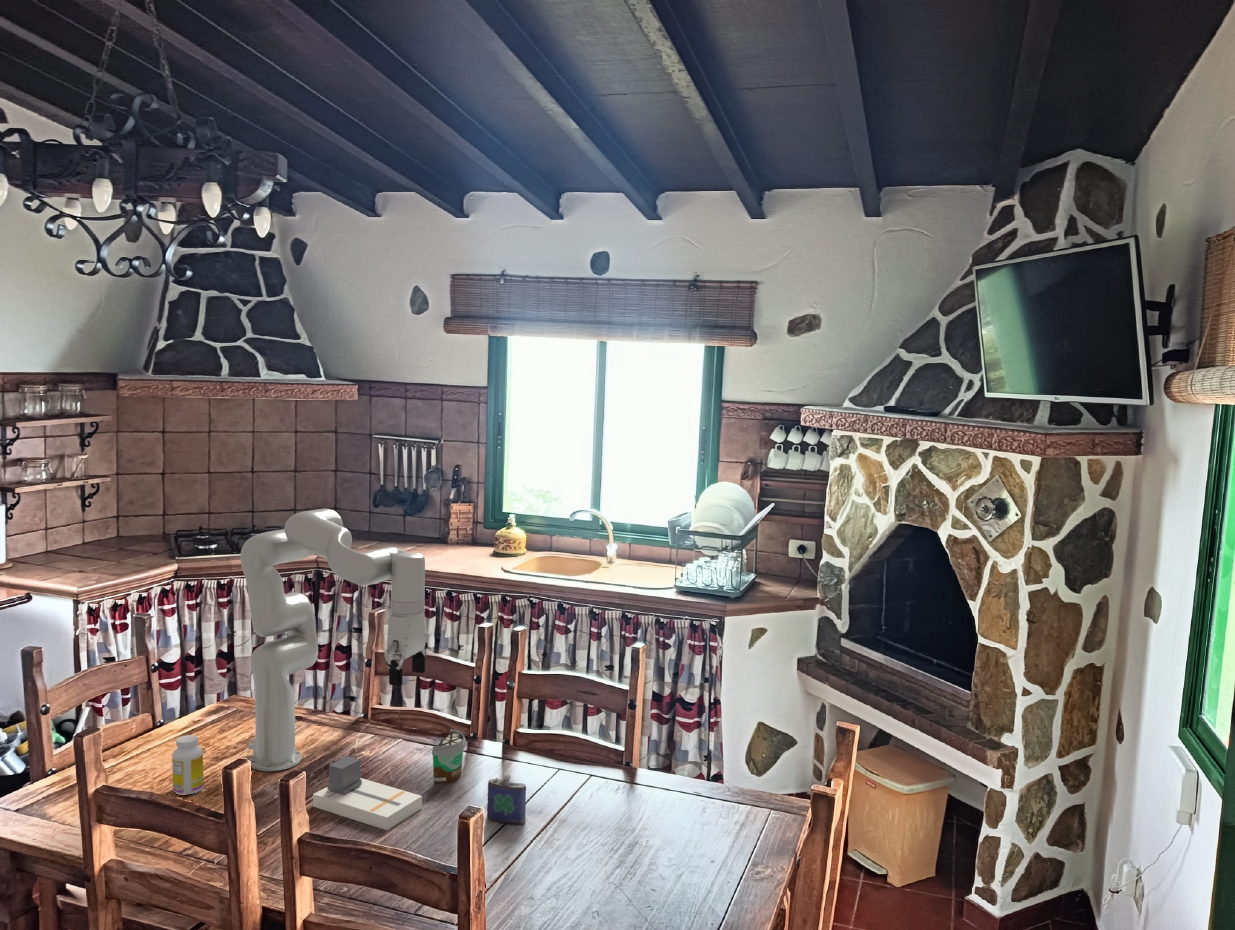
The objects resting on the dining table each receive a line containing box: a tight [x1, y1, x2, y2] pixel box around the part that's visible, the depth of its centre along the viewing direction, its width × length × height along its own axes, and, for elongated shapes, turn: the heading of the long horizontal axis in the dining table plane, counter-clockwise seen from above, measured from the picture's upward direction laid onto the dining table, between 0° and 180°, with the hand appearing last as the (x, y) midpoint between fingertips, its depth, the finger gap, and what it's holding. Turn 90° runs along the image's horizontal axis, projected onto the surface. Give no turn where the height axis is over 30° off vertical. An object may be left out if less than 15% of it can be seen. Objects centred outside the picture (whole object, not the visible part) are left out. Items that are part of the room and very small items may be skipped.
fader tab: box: [326, 755, 362, 794], centre depth 219 cm, size 5×6×6 cm
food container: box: [431, 728, 467, 785], centre depth 233 cm, size 12×6×10 cm, turn 168°
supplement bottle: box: [171, 734, 205, 795], centre depth 221 cm, size 7×7×13 cm
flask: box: [486, 774, 527, 826], centre depth 212 cm, size 9×3×11 cm, turn 74°
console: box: [312, 777, 423, 831], centre depth 216 cm, size 22×12×3 cm, turn 63°
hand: (407, 678), depth 216 cm, fingers open, 9 cm apart
